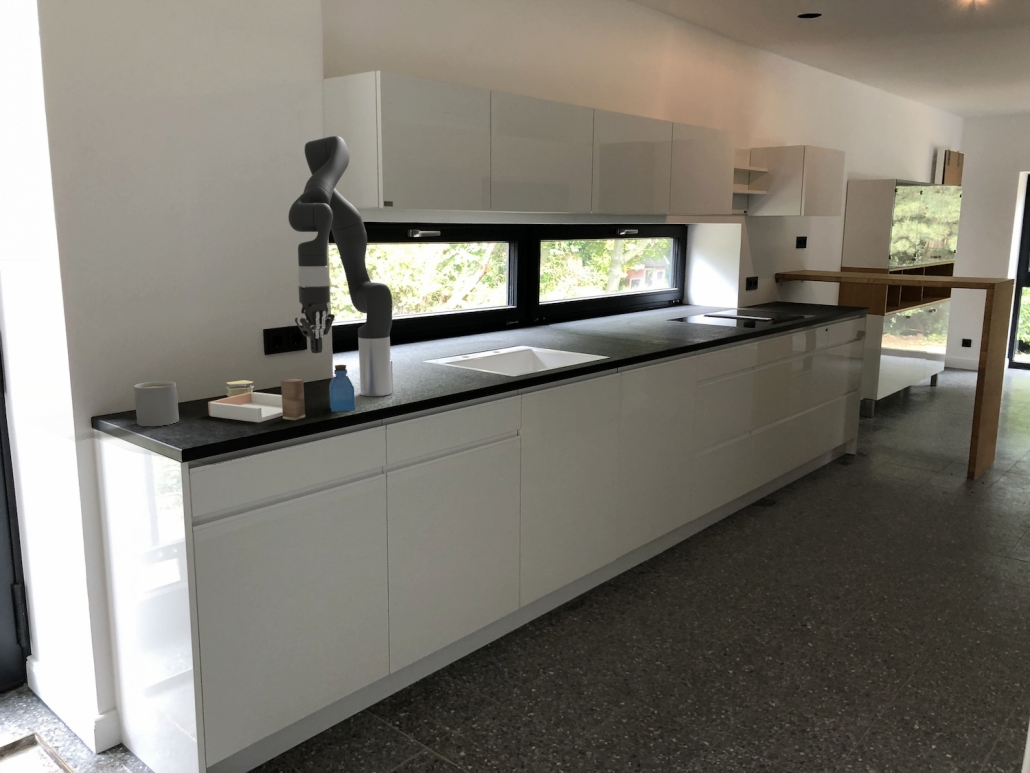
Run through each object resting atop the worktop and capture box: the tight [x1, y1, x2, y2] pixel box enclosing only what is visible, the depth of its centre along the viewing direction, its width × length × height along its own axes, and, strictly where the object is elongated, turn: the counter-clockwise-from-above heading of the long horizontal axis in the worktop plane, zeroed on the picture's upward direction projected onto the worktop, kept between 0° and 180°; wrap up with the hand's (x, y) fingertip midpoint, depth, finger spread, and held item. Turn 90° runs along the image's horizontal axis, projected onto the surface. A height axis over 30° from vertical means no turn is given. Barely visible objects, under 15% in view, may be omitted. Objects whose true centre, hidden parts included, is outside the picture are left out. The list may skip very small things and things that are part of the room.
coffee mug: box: [133, 380, 180, 427], centre depth 219 cm, size 13×10×10 cm
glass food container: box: [225, 379, 255, 398], centre depth 246 cm, size 10×9×6 cm
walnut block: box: [280, 378, 306, 421], centre depth 222 cm, size 4×4×10 cm
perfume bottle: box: [328, 364, 356, 413], centre depth 233 cm, size 6×6×12 cm
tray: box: [207, 391, 283, 423], centre depth 229 cm, size 16×18×4 cm
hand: (316, 352), depth 215 cm, fingers closed
